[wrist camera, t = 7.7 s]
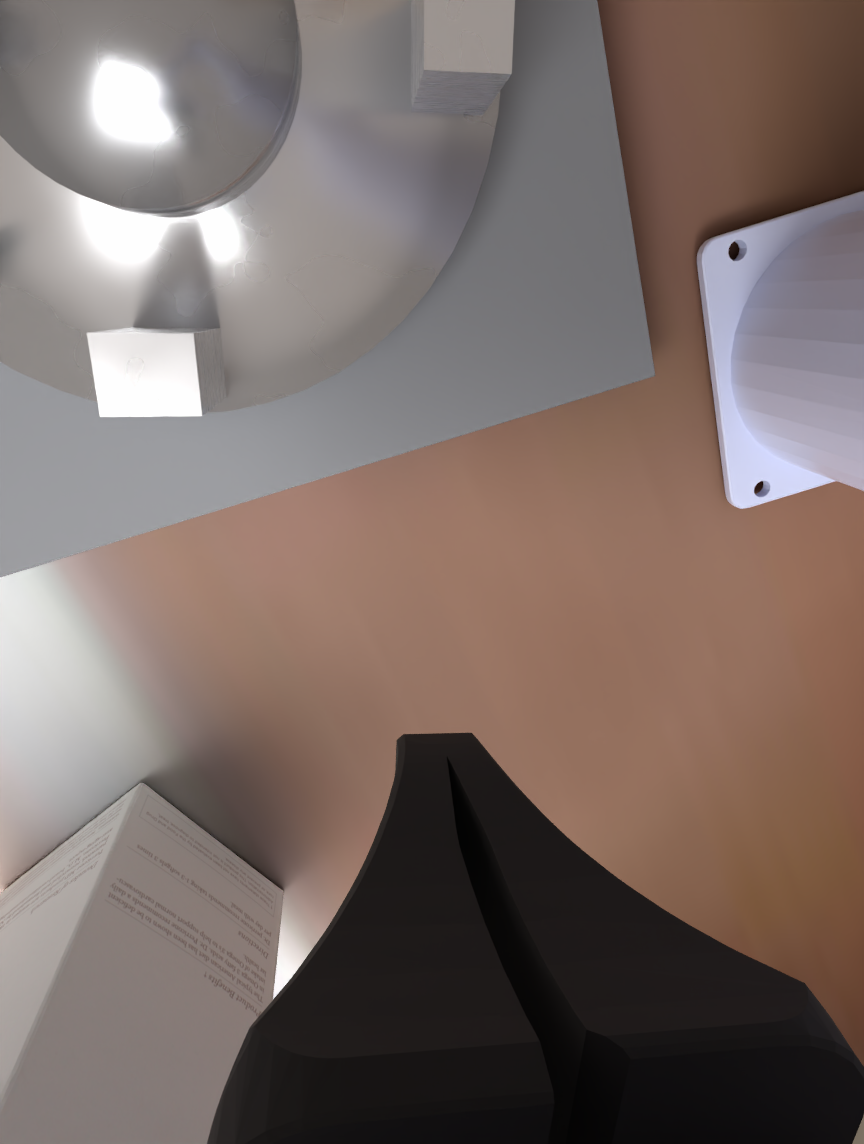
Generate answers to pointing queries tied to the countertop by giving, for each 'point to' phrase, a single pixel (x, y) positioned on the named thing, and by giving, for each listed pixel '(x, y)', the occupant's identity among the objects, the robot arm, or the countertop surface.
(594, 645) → the countertop surface
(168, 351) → the domed lug disc
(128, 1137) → the supplement box
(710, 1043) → the robot arm
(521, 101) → the cap plate
